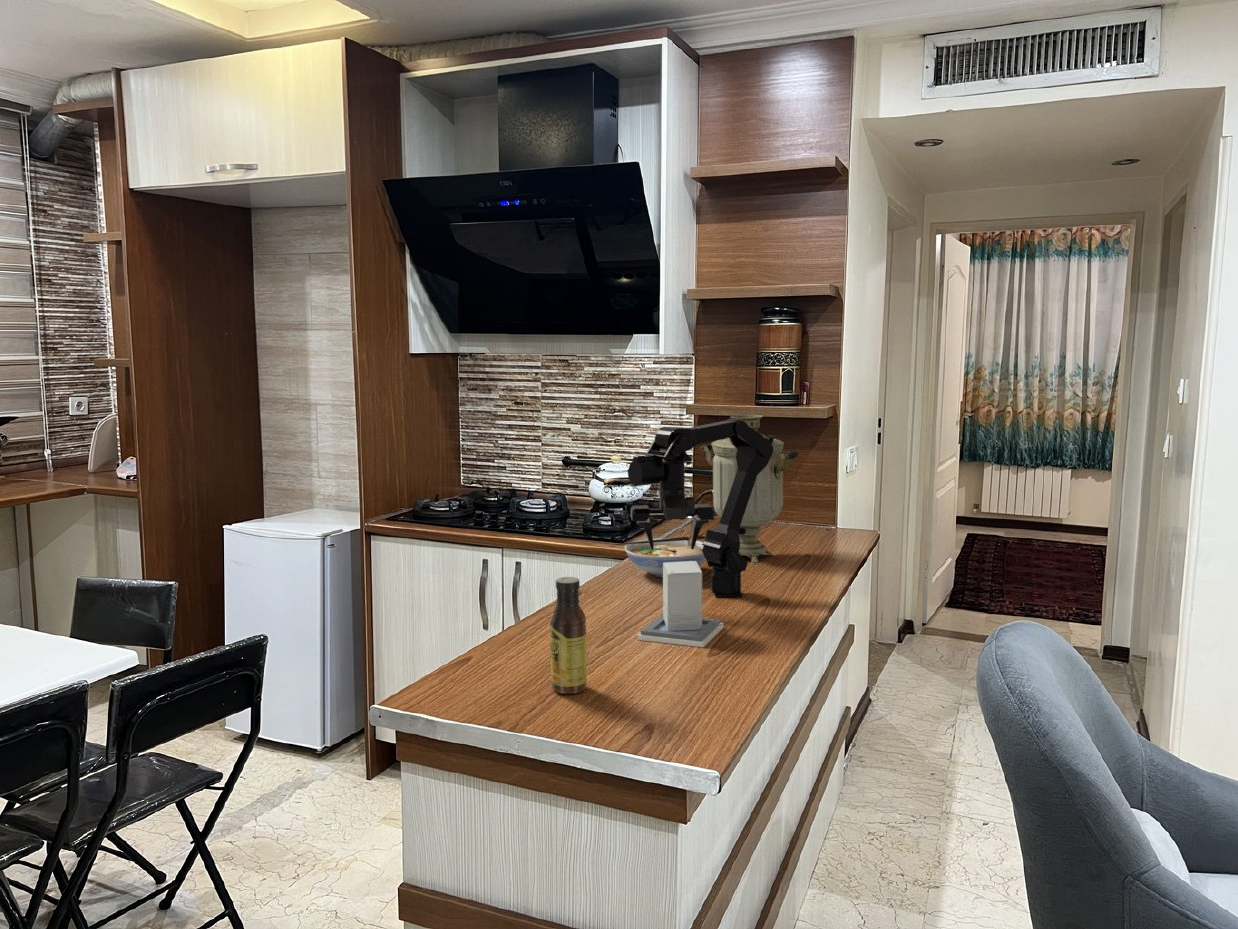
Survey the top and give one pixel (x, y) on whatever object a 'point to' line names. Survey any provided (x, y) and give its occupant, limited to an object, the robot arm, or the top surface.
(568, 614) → the sauce bottle
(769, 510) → the samovar
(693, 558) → the ramen bowl
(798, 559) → the top surface
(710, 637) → the grey square tray
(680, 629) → the supplement box
